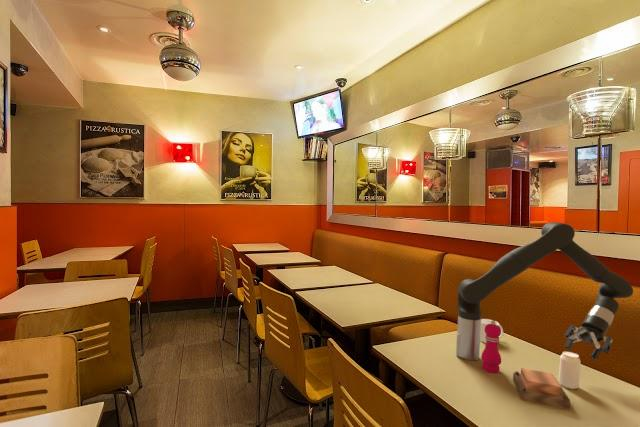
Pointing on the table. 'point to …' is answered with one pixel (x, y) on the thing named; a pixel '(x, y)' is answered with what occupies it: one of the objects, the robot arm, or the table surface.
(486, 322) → the mug
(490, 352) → the pepper mill
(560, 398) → the brick plinth
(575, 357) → the beverage can
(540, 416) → the table surface
